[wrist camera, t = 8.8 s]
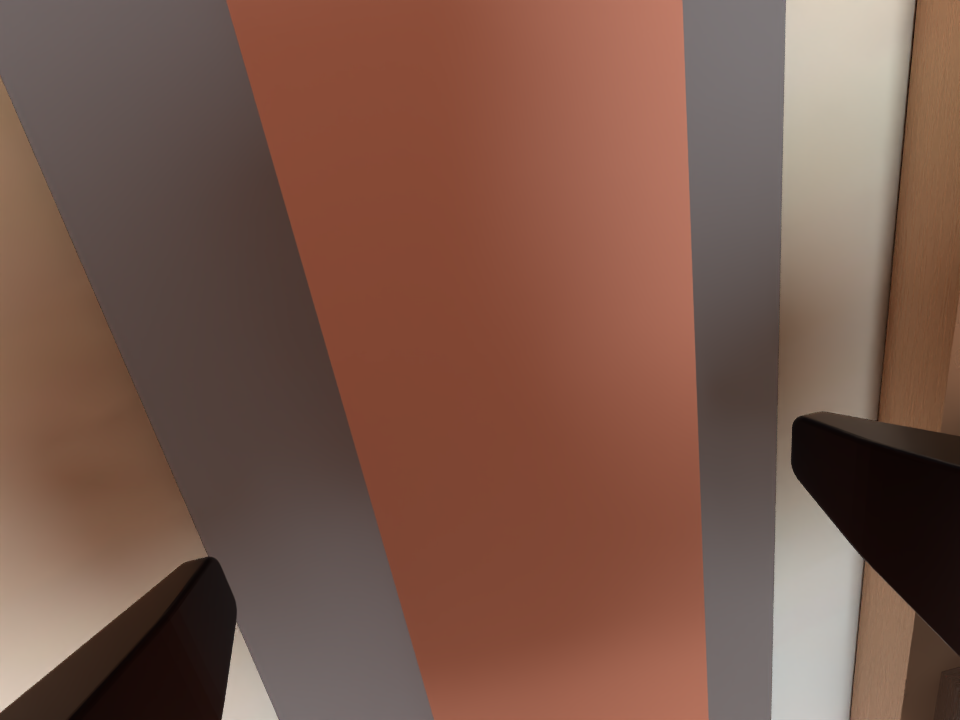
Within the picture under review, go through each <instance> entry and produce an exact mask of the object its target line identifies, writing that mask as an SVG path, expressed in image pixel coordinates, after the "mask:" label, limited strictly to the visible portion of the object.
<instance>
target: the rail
mask: <svg viewBox="0 0 960 720" xmlns="http://www.w3.org/2000/svg"><path fill="white" fill-rule="evenodd" d="M226 2H227V5H228V9H229V12H230V16H231V19H232V22H233V26H234V29H235V33H236V36H237V40H238V43H239V47H240V50H241V54H242V57H243V60H244V64H245V67H246V71H247V74H248V78H249V81H250V85H251V88H252V92H253V95H254V99H255V102H256V105H257V109H258V112H259V116H260V119H261V123H262V126H263V130H264V133H265V137H266V140H267V143H268V147H269V150H270V154H271V157H272V161H273V164H274V168H275V171H276V175H277V178H278V182H279V185H280V188H281V192H282V195H283V199H284V202H285V206H286V209H287V213H288V216H289V220H290V223H291V227H292V230H293V233H294V237H295V240H296V244H297V247H298V251H299V254H300V258H301V261H302V265H303V268H304V271H305V275H306V278H307V282H308V285H309V289H310V292H311V296H312V299H313V303H314V306H315V310H316V313H317V316H318V320H319V323H320V327H321V330H322V334H323V337H324V341H325V344H326V348H327V351H328V354H329V358H330V361H331V365H332V368H333V372H334V375H335V379H336V382H337V386H338V389H339V393H340V396H341V399H342V403H343V406H344V410H345V413H346V417H347V420H348V424H349V427H350V431H351V434H352V438H353V441H354V444H355V448H356V451H357V455H358V458H359V462H360V465H361V469H362V472H363V476H364V479H365V482H366V486H367V489H368V493H369V496H370V500H371V503H372V507H373V510H374V514H375V517H376V521H377V524H378V527H379V531H380V534H381V538H382V541H383V545H384V548H385V552H386V555H387V559H388V562H389V565H390V569H391V572H392V576H393V579H394V583H395V586H396V590H397V593H398V597H399V600H400V604H401V607H402V610H403V614H404V617H405V621H406V624H407V628H408V631H409V635H410V638H411V642H412V645H413V649H414V652H415V655H416V659H417V662H418V666H419V669H420V673H421V676H422V680H423V683H424V687H425V690H426V693H427V697H428V700H429V704H430V707H431V711H432V714H433V718H434V720H709V716H708V688H707V661H706V634H705V606H704V579H703V551H702V524H701V496H700V469H699V442H698V414H697V387H696V359H695V332H694V305H693V277H692V250H691V222H690V195H689V167H688V140H687V113H686V85H685V58H684V30H683V3H682V0H226Z"/></svg>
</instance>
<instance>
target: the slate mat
mask: <svg viewBox="0 0 960 720" xmlns="http://www.w3.org/2000/svg"><path fill="white" fill-rule="evenodd" d="M682 3H683V30H684V58H685V85H686V113H687V140H688V167H689V195H690V222H691V250H692V277H693V305H694V332H695V359H696V387H697V414H698V442H699V469H700V496H701V524H702V551H703V579H704V606H705V634H706V661H707V688H708V716H709V720H771V699H772V650H773V601H774V552H775V503H776V454H777V405H778V356H779V307H780V258H781V209H782V160H783V111H784V61H785V12H786V0H682ZM0 76H1V78H2V80H3V83H4V85H5V87H6V90H7V92H8V94H9V97H10V99H11V101H12V104H13V106H14V108H15V111H16V113H17V115H18V117H19V120H20V122H21V124H22V127H23V129H24V131H25V134H26V136H27V138H28V141H29V143H30V145H31V148H32V150H33V152H34V154H35V157H36V159H37V161H38V164H39V166H40V168H41V171H42V173H43V175H44V178H45V180H46V182H47V185H48V187H49V189H50V191H51V194H52V196H53V198H54V201H55V203H56V205H57V208H58V210H59V212H60V215H61V217H62V219H63V222H64V224H65V226H66V228H67V231H68V233H69V235H70V238H71V240H72V242H73V245H74V247H75V249H76V252H77V254H78V256H79V259H80V261H81V263H82V265H83V268H84V270H85V272H86V275H87V277H88V279H89V282H90V284H91V286H92V289H93V291H94V293H95V296H96V298H97V300H98V302H99V305H100V307H101V309H102V312H103V314H104V316H105V319H106V321H107V323H108V326H109V328H110V330H111V332H112V335H113V337H114V339H115V342H116V344H117V346H118V349H119V351H120V353H121V356H122V358H123V360H124V363H125V365H126V367H127V369H128V372H129V374H130V376H131V379H132V381H133V383H134V386H135V388H136V390H137V393H138V395H139V397H140V400H141V402H142V404H143V406H144V409H145V411H146V413H147V416H148V418H149V420H150V423H151V425H152V427H153V430H154V432H155V434H156V437H157V439H158V441H159V443H160V446H161V448H162V450H163V453H164V455H165V457H166V460H167V462H168V464H169V467H170V469H171V471H172V474H173V476H174V478H175V480H176V483H177V485H178V487H179V490H180V492H181V494H182V497H183V499H184V501H185V504H186V506H187V508H188V511H189V513H190V515H191V517H192V520H193V522H194V524H195V527H196V529H197V531H198V534H199V536H200V538H201V541H202V543H203V545H204V548H205V550H206V552H207V554H208V557H210V556H211V557H214V558H216V559H217V560H218V561H219V563H220V564H221V567H222V569H223V571H224V574H225V576H226V578H227V581H228V583H229V585H230V588H231V590H232V592H233V595H234V597H235V600H236V605H237V619H236V622H237V624H238V626H239V628H240V631H241V633H242V635H243V638H244V640H245V642H246V645H247V647H248V649H249V652H250V654H251V656H252V658H253V661H254V663H255V665H256V668H257V670H258V672H259V675H260V677H261V679H262V682H263V684H264V686H265V689H266V691H267V693H268V695H269V698H270V700H271V702H272V705H273V707H274V709H275V712H276V714H277V716H278V719H279V720H434V718H433V714H432V711H431V707H430V704H429V700H428V697H427V693H426V690H425V687H424V683H423V680H422V676H421V673H420V669H419V666H418V662H417V659H416V655H415V652H414V649H413V645H412V642H411V638H410V635H409V631H408V628H407V624H406V621H405V617H404V614H403V610H402V607H401V604H400V600H399V597H398V593H397V590H396V586H395V583H394V579H393V576H392V572H391V569H390V565H389V562H388V559H387V555H386V552H385V548H384V545H383V541H382V538H381V534H380V531H379V527H378V524H377V521H376V517H375V514H374V510H373V507H372V503H371V500H370V496H369V493H368V489H367V486H366V482H365V479H364V476H363V472H362V469H361V465H360V462H359V458H358V455H357V451H356V448H355V444H354V441H353V438H352V434H351V431H350V427H349V424H348V420H347V417H346V413H345V410H344V406H343V403H342V399H341V396H340V393H339V389H338V386H337V382H336V379H335V375H334V372H333V368H332V365H331V361H330V358H329V354H328V351H327V348H326V344H325V341H324V337H323V334H322V330H321V327H320V323H319V320H318V316H317V313H316V310H315V306H314V303H313V299H312V296H311V292H310V289H309V285H308V282H307V278H306V275H305V271H304V268H303V265H302V261H301V258H300V254H299V251H298V247H297V244H296V240H295V237H294V233H293V230H292V227H291V223H290V220H289V216H288V213H287V209H286V206H285V202H284V199H283V195H282V192H281V188H280V185H279V182H278V178H277V175H276V171H275V168H274V164H273V161H272V157H271V154H270V150H269V147H268V143H267V140H266V137H265V133H264V130H263V126H262V123H261V119H260V116H259V112H258V109H257V105H256V102H255V99H254V95H253V92H252V88H251V85H250V81H249V78H248V74H247V71H246V67H245V64H244V60H243V57H242V54H241V50H240V47H239V43H238V40H237V36H236V33H235V29H234V26H233V22H232V19H231V16H230V12H229V9H228V5H227V2H226V0H0Z"/></svg>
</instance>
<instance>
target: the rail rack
mask: <svg viewBox="0 0 960 720" xmlns="http://www.w3.org/2000/svg"><path fill="white" fill-rule="evenodd" d="M878 421H879V422H884V423H890V424H896V425H901V426H907V427H912V428H918V429H923V430H929V431H935V432H940V433H946V434H951V435H957V436H960V0H917V11H916V21H915V32H914V43H913V54H912V64H911V75H910V86H909V96H908V107H907V118H906V129H905V139H904V150H903V161H902V171H901V182H900V193H899V204H898V214H897V225H896V236H895V246H894V257H893V268H892V279H891V289H890V300H889V311H888V321H887V332H886V343H885V354H884V364H883V375H882V386H881V396H880V407H879V418H878ZM850 720H960V657H959V656H958V655H957V654H956V653H955V652H954V651H953V650H952V649H951V648H950V647H949V646H948V645H947V644H946V643H945V642H944V641H943V640H942V639H941V638H940V637H939V636H938V635H937V633H936V632H935V631H934V630H933V629H932V628H931V627H930V626H929V625H928V624H927V623H926V622H925V621H924V620H923V619H922V618H921V617H920V616H919V615H918V614H917V613H916V612H915V611H914V610H913V609H912V608H911V607H910V606H909V605H908V604H907V603H906V602H905V601H904V600H903V599H902V598H901V597H900V596H899V595H898V594H897V593H896V592H895V591H894V590H893V589H892V588H891V587H890V586H889V585H888V584H887V583H886V582H885V581H884V579H883V578H882V577H881V576H880V575H879V574H878V573H877V572H876V571H875V570H874V569H873V568H872V567H871V566H870V565H869V564H868V563H867V562H866V561H865V568H864V579H863V589H862V600H861V611H860V622H859V632H858V643H857V654H856V664H855V675H854V686H853V697H852V707H851V718H850Z"/></svg>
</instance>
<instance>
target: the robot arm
mask: <svg viewBox="0 0 960 720" xmlns="http://www.w3.org/2000/svg"><path fill="white" fill-rule="evenodd" d="M791 465H792V469H793V472H794V474H795V476H796V477H797V479H798V480H799V481H800V483H801V484H802V485H803V486H804V487H805V489H806V490H807V491H808V492H809V494H810V495H811V496H812V497H813V498H814V500H815V501H816V502H817V503H818V505H819V506H820V507H821V508H822V509H823V511H824V512H825V513H826V514H827V516H828V517H829V518H830V519H831V521H832V522H833V523H834V524H835V525H836V527H837V528H838V529H839V530H840V532H841V533H842V534H843V535H844V536H845V538H846V539H847V540H848V541H849V543H850V544H851V545H852V546H853V547H854V548H855V550H856V551H857V552H858V553H859V554H860V555H861V556H862V558H863V559H864V560H865V561H866V562H867V563H868V564H869V565H870V566H871V567H872V568H873V569H874V570H875V571H876V572H877V573H878V574H879V575H880V576H881V577H882V578H883V579H884V581H885V582H886V583H887V584H888V585H889V586H890V587H891V588H892V589H893V590H894V591H895V592H896V593H897V594H898V595H899V596H900V597H901V598H902V599H903V600H904V601H905V602H906V603H907V604H908V605H909V606H910V607H911V608H912V609H913V610H914V611H915V612H916V613H917V614H918V615H919V616H920V617H921V618H922V619H923V620H924V621H925V622H926V623H927V624H928V625H929V626H930V627H931V628H932V629H933V630H934V631H935V632H936V633H937V635H938V636H939V637H940V638H941V639H942V640H943V641H944V642H945V643H946V644H947V645H948V646H949V647H950V648H951V649H952V650H953V651H954V652H955V653H956V654H957V655H958V656H959V657H960V436H957V435H951V434H946V433H940V432H935V431H929V430H923V429H918V428H912V427H907V426H901V425H896V424H890V423H884V422H879V421H873V420H868V419H862V418H857V417H851V416H846V415H840V414H834V413H829V412H815V413H811V414H807V415H803V416H799V417H797V418H796V419H795V420H794V422H793V425H792V448H791ZM236 619H237V605H236V600H235V597H234V595H233V592H232V590H231V588H230V585H229V583H228V581H227V578H226V576H225V574H224V571H223V569H222V567H221V564H220V563H219V561H218V560H217V559H216V558H214V557H211V556H210V557H205V558H201V559H196V560H192V561H188V562H185V563H183V564H182V565H180V566H179V567H178V568H177V569H175V570H174V571H173V572H172V573H171V574H169V575H168V576H167V577H166V578H164V579H163V580H162V581H161V582H160V583H158V584H157V585H156V586H155V587H153V588H152V589H151V590H150V591H149V592H147V593H146V594H145V595H144V596H142V597H141V598H140V599H139V600H138V601H136V602H135V603H134V604H133V605H131V606H130V607H129V608H128V609H127V610H125V611H124V612H123V613H122V614H120V615H119V616H118V617H117V618H115V619H114V620H113V621H112V622H111V623H109V624H108V625H107V626H106V627H104V628H103V629H102V630H101V631H100V632H98V633H97V634H96V635H95V636H93V637H92V638H91V639H90V640H89V641H87V642H86V643H85V644H84V645H82V646H81V647H80V648H79V649H78V650H76V651H75V652H74V653H73V654H71V655H70V656H69V657H68V658H67V659H65V660H64V661H63V662H62V663H60V664H59V665H58V666H57V667H56V668H54V669H53V670H52V671H51V672H49V673H48V674H47V675H46V676H45V677H43V678H42V679H41V680H40V681H38V682H37V683H36V684H35V685H34V686H32V687H31V688H30V689H29V690H27V691H26V692H25V693H24V694H23V695H21V696H20V697H19V698H18V699H16V700H15V701H14V702H13V703H12V704H10V705H9V706H8V707H7V708H5V709H4V710H3V711H2V712H1V713H0V720H221V719H222V714H223V708H224V702H225V695H226V688H227V681H228V674H229V667H230V660H231V654H232V647H233V640H234V633H235V626H236Z"/></svg>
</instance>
